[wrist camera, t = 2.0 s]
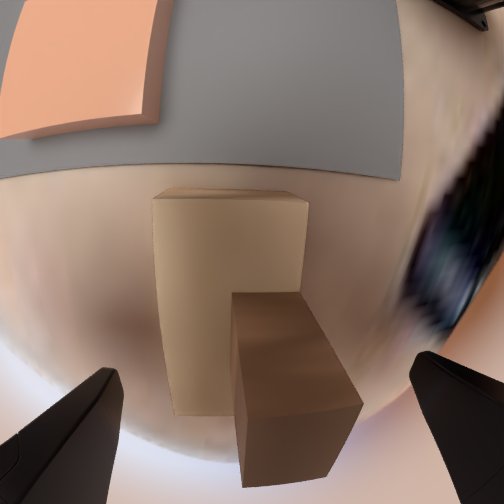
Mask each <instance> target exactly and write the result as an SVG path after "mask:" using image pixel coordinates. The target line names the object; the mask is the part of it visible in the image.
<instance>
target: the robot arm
mask: <svg viewBox="0 0 504 504" xmlns="http://www.w3.org/2000/svg"><path fill="white" fill-rule="evenodd" d="M434 1H436V2H438V3H439V4H441V5H443V6H444V7H446V8H448V9H449V10H451V11H453V12H454V13H456V14H457V15H459V16H460V17H462V18H463V19H465V20H466V21H468V22H469V23H471V24H472V25H474V26H475V27H476V28H478V29H479V30H481V31H482V32H484V31H488V25H487V21H486V17H485V14H484V12H487V11H491V10H494V9H497V8H501V7H504V0H434ZM409 378H410V381H411V383H412V386H413V388H414V391H415V394H416V397H417V399H418V402H419V405H420V408H421V410H422V413H423V415H424V418H425V420H426V422H427V424H428V426H429V428H430V430H431V433H432V435H433V437H434V439H435V441H436V444H437V446H438V448H439V450H440V453H441V455H442V457H443V460H444V462H445V465H446V467H447V469H448V472H449V474H450V477H451V479H452V482H453V484H454V487H455V489H456V492H457V495H458V498H459V500H460V503H461V504H504V383H502V382H500V381H498V380H495V379H493V378H491V377H488V376H486V375H484V374H481V373H479V372H477V371H474V370H472V369H470V368H467V367H465V366H463V365H460V364H458V363H456V362H453V361H451V360H449V359H447V358H444V357H442V356H440V355H438V354H435V353H433V352H431V351H424V352H420V353H418V354H417V356H416V358H415V360H414V363H413V365H412V367H411V370H410V372H409ZM123 399H124V391H123V387H122V384H121V381H120V377H119V374H118V371H117V370H116V369H114V368H107V367H103V368H101V369H99V370H98V371H97V372H95V373H94V374H93V375H91V376H90V377H89V378H88V379H86V380H85V381H84V382H82V383H81V384H80V385H78V386H77V387H76V388H75V389H73V390H72V391H71V392H69V393H68V394H67V395H65V396H64V397H63V398H62V399H60V400H59V401H58V402H56V403H55V404H54V405H53V406H51V407H50V408H49V409H47V410H46V411H45V412H43V413H42V414H41V415H40V416H38V417H37V418H36V419H34V420H33V421H32V422H31V423H29V424H28V425H27V426H25V427H24V428H23V429H21V430H20V431H19V432H18V434H15V435H14V436H12V437H11V438H10V439H8V440H7V441H6V442H4V443H3V444H1V445H0V504H106V501H107V495H108V490H109V485H110V479H111V474H112V469H113V464H114V460H115V455H116V450H117V446H118V440H119V431H120V422H121V414H122V406H123Z"/></svg>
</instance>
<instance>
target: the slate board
mask: <svg viewBox="0 0 504 504" xmlns="http://www.w3.org/2000/svg"><path fill="white" fill-rule="evenodd" d="M25 1H27V0H0V94H1V87H2V82H3V76H4V71H5V67H6V62H7V58H8V54H9V50H10V46H11V42H12V39H13V35H14V32H15V29H16V26H17V23H18V20H19V17H20V14H21V11H22V8H23V6H24V3H25ZM403 129H404V80H403V60H402V47H401V36H400V27H399V19H398V12H397V6H396V0H174V3H173V8H172V14H171V20H170V26H169V32H168V38H167V45H166V53H165V61H164V69H163V78H162V88H161V100H160V113H159V124H144V125H129V126H117V127H107V128H98V129H90V130H82V131H75V132H69V133H63V134H57V135H51V136H46V137H41V138H36V139H0V178H6V177H12V176H18V175H24V174H31V173H38V172H45V171H54V170H62V169H72V168H82V167H94V166H107V165H124V164H147V163H230V164H254V165H271V166H285V167H298V168H309V169H319V170H328V171H337V172H346V173H353V174H361V175H368V176H375V177H382V178H388V179H394V180H400V176H401V164H402V150H403Z"/></svg>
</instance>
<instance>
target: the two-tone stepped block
mask: <svg viewBox="0 0 504 504" xmlns="http://www.w3.org/2000/svg"><path fill="white" fill-rule="evenodd" d="M308 211H309V203H308V202H306V201H304V200H302V199H300V198H298V197H296V196H294V195H292V194H290V193H288V192H280V191H260V190H234V189H167V190H165V191H164V192H162V193H161V194H159V195H157V196H156V197H154V198H153V199H152V226H153V249H154V266H155V280H156V291H157V302H158V312H159V321H160V329H161V337H162V344H163V352H164V358H165V365H166V371H167V377H168V383H169V389H170V394H171V399H172V405H173V410H174V414H175V415H184V416H235V426H236V436H237V445H238V454H239V463H240V472H241V480H242V487H243V488H247V487H259V486H260V487H261V486H271V485H280V484H287V483H295V482H301V481H307V480H313V479H317V478H323V477H326V476H327V474H328V473H329V471H330V469H331V468H332V466H333V464H334V462H335V460H336V459H337V457H338V455H339V453H340V451H341V449H342V448H343V446H344V444H345V442H346V440H347V438H348V436H349V434H350V432H351V430H352V428H353V426H354V424H355V422H356V420H357V418H358V415H359V413H360V411H361V409H362V407H363V404H364V403H363V401H362V399H361V398H360V396H359V394H358V392H357V391H356V389H355V387H354V385H353V383H352V382H351V380H350V378H349V376H348V375H347V373H346V371H345V369H344V368H343V366H342V364H341V362H340V361H339V359H338V357H337V355H336V354H335V352H334V350H333V348H332V347H331V345H330V343H329V341H328V340H327V338H326V336H325V335H324V333H323V331H322V329H321V328H320V326H319V324H318V322H317V321H316V319H315V317H314V316H313V314H312V312H311V311H310V309H309V307H308V305H307V304H306V302H305V300H304V299H303V297H302V295H301V294H300V284H301V276H302V268H303V259H304V250H305V241H306V231H307V221H308Z"/></svg>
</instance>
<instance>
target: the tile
mask: <svg viewBox="0 0 504 504" xmlns="http://www.w3.org/2000/svg"><path fill="white" fill-rule="evenodd" d="M173 3H174V0H27V1H25V3H24V6H23V8H22V11H21V14H20V17H19V20H18V23H17V26H16V29H15V32H14V35H13V39H12V42H11V46H10V50H9V54H8V58H7V62H6V67H5V71H4V76H3V82H2V87H1V94H0V139H36V138H41V137H46V136H51V135H57V134H63V133H69V132H75V131H82V130H90V129H98V128H107V127H117V126H129V125H144V124H159V113H160V100H161V88H162V78H163V69H164V61H165V53H166V45H167V38H168V32H169V26H170V20H171V14H172V8H173Z"/></svg>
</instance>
